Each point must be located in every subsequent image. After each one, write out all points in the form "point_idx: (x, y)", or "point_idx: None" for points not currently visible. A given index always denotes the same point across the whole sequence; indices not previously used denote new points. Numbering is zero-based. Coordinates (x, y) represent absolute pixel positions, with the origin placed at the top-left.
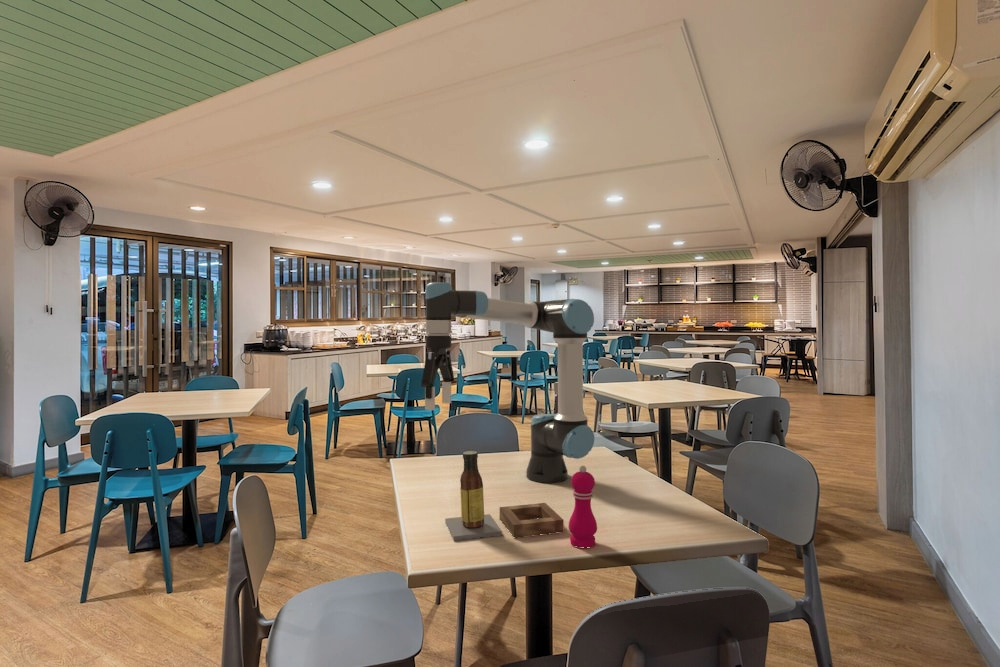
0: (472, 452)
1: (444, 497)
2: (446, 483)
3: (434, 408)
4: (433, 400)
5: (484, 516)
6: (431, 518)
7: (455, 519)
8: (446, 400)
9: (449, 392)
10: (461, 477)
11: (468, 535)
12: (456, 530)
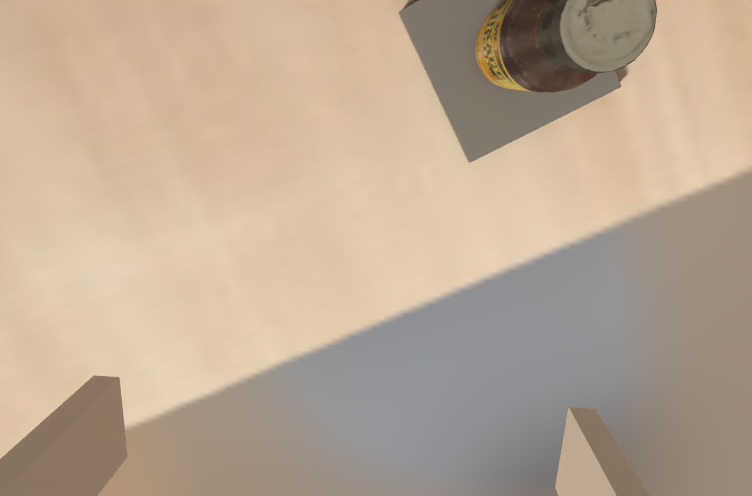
0: (606, 5)
1: (231, 238)
2: (81, 277)
3: (582, 417)
4: (638, 482)
5: (426, 26)
6: (436, 217)
7: (472, 125)
8: (107, 433)
9: (43, 463)
10: (589, 78)
11: None
12: (570, 92)
